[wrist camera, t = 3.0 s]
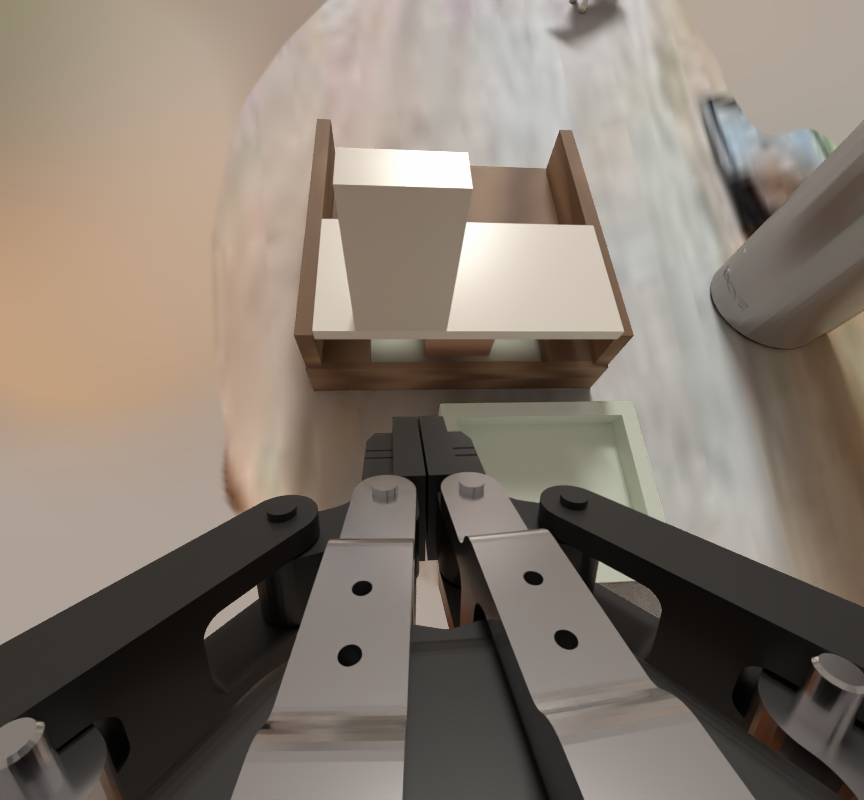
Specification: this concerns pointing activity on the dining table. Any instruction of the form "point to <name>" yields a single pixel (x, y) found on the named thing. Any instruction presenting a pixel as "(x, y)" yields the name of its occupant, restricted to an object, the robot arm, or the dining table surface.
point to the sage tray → (562, 452)
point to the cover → (448, 260)
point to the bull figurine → (583, 5)
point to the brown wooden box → (509, 358)
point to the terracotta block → (458, 347)
